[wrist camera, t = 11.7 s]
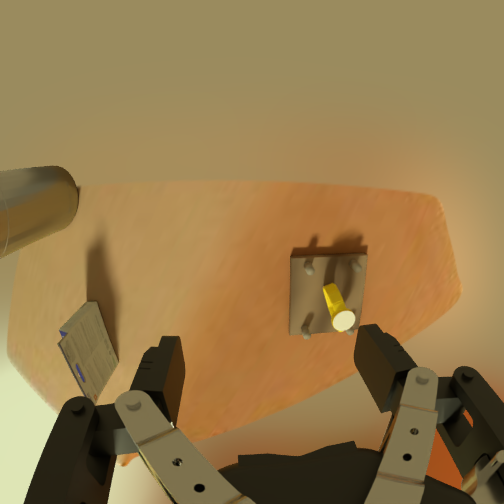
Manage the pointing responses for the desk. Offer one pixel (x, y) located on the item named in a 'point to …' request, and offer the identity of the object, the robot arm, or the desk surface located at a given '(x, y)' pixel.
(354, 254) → the pin plate
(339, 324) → the watch
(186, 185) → the desk surface
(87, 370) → the ink box
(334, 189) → the desk surface
